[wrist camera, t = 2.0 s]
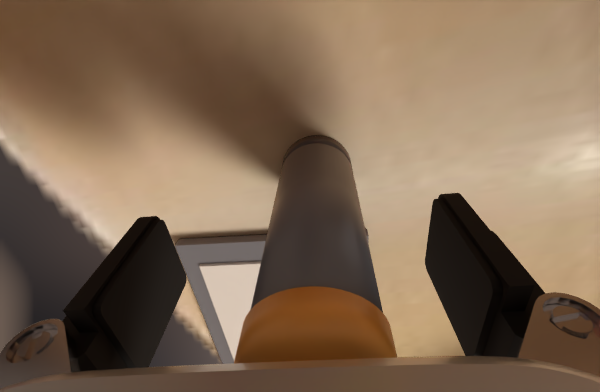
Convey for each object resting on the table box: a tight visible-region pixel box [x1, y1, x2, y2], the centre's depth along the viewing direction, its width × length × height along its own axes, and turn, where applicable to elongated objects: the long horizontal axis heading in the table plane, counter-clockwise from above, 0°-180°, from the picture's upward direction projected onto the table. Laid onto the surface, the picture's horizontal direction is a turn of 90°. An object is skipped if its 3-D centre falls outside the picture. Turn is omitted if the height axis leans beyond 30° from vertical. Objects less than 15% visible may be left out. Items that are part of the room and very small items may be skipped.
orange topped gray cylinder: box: [234, 135, 397, 363], centre depth 11 cm, size 4×4×11 cm
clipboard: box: [175, 229, 368, 364], centre depth 21 cm, size 11×14×1 cm
